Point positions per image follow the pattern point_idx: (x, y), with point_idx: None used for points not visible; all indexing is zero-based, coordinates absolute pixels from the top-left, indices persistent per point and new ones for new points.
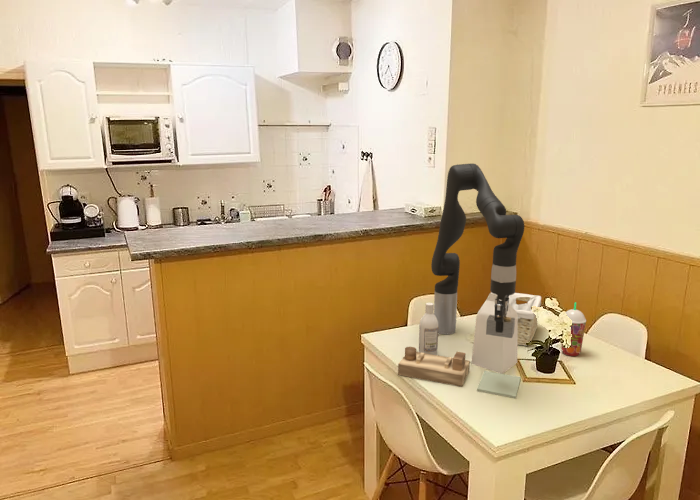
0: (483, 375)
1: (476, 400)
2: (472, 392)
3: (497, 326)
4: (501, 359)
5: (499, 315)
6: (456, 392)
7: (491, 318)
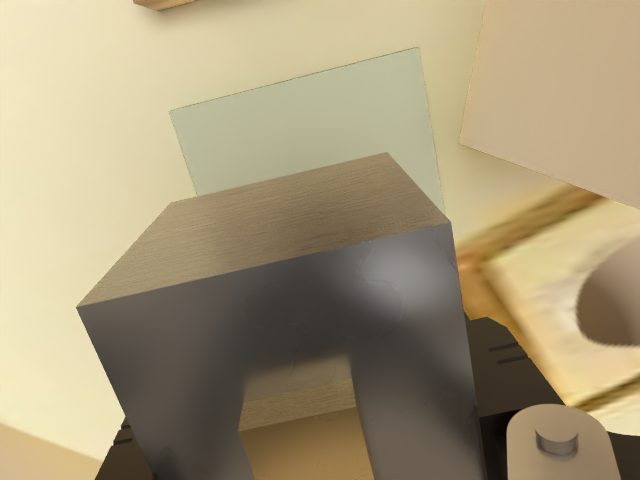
0: (351, 71)
1: (79, 152)
2: (141, 96)
3: (116, 458)
4: (496, 146)
5: (480, 428)
6: (73, 15)
7: (222, 355)
